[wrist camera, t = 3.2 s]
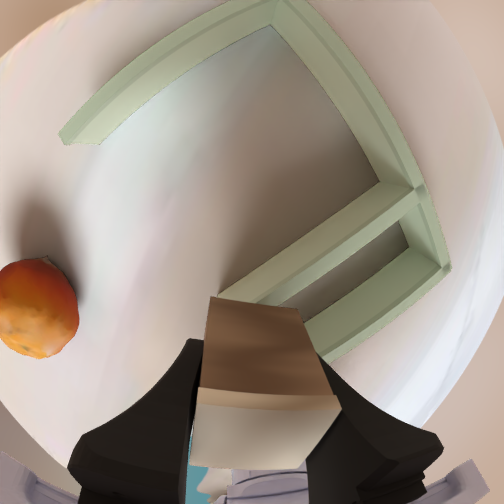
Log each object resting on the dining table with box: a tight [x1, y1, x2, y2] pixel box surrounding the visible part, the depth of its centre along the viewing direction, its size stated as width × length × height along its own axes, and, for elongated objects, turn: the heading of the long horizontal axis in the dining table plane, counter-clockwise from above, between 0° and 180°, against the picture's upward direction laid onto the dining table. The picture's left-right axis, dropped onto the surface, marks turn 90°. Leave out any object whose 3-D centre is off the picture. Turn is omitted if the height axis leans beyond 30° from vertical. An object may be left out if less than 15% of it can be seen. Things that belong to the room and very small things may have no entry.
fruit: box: [0, 255, 79, 359], centre depth 15 cm, size 8×8×8 cm
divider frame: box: [58, 0, 452, 364], centre depth 15 cm, size 21×15×4 cm
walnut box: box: [190, 297, 342, 470], centre depth 10 cm, size 4×4×6 cm
